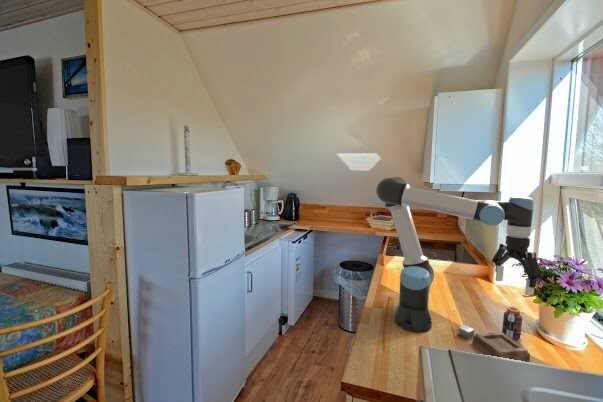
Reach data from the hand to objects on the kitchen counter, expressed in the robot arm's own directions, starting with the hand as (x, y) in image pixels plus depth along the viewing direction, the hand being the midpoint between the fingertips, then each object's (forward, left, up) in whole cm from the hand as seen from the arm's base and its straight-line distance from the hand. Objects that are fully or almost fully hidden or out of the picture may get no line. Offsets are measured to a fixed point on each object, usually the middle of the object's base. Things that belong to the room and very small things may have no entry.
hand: (513, 287), depth 113 cm
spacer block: (-19, 0, -19) cm, 27 cm away
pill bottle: (-1, -2, -19) cm, 20 cm away
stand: (-14, -11, -19) cm, 26 cm away
